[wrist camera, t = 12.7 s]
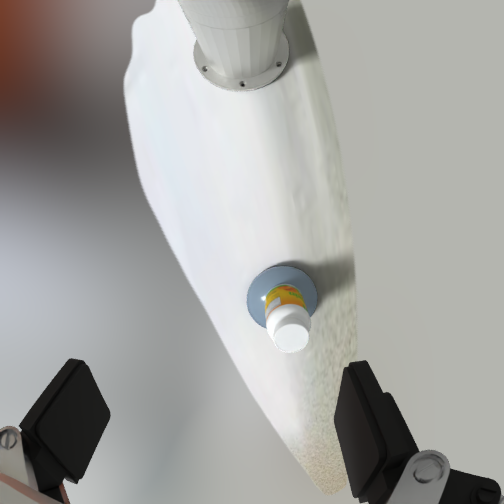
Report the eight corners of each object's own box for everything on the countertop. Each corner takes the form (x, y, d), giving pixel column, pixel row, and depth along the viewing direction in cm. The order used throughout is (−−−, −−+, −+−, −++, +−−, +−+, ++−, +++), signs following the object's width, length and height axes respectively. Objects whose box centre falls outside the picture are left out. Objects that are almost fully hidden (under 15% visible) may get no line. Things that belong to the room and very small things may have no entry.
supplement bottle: (310, 298, 39) (325, 336, 30) (283, 323, 40) (291, 365, 31) (283, 275, 38) (292, 308, 29) (256, 301, 39) (257, 341, 30)
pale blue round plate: (245, 266, 39) (244, 269, 38) (316, 262, 39) (318, 266, 38) (249, 327, 42) (248, 332, 41) (313, 323, 42) (315, 328, 41)
